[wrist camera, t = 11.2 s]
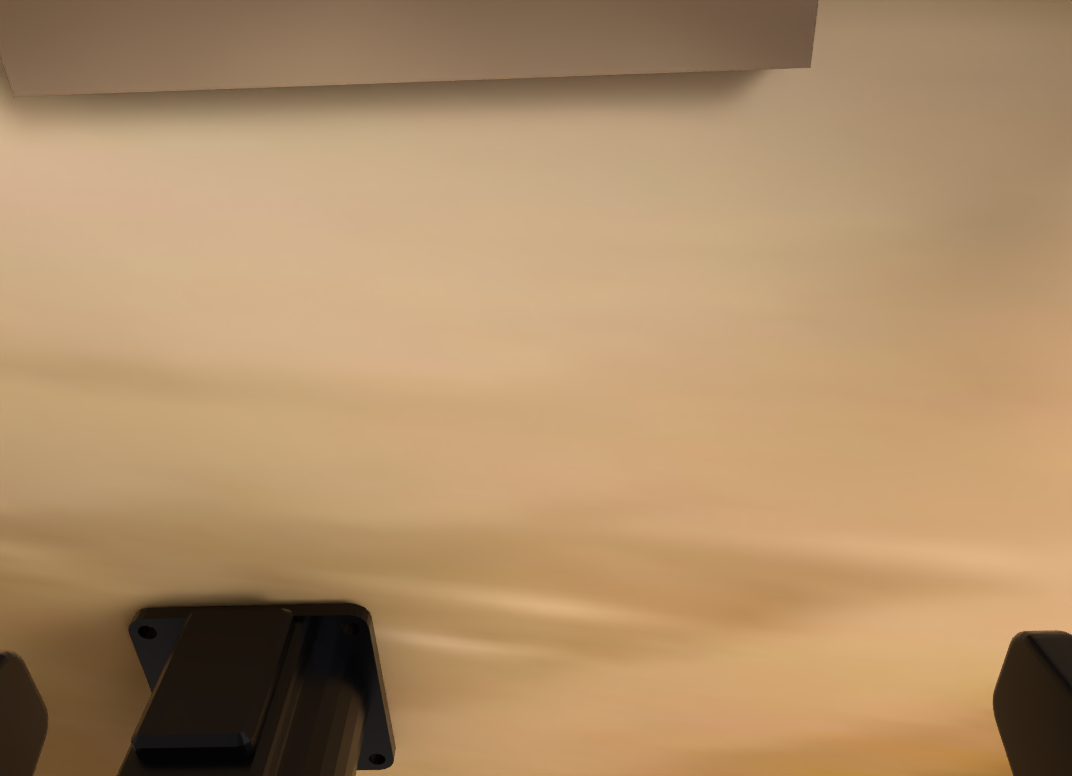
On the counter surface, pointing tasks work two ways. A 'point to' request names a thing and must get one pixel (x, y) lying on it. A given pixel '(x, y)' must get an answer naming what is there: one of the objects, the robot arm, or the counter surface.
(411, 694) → the counter surface
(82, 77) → the walnut board
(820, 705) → the counter surface
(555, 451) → the counter surface
